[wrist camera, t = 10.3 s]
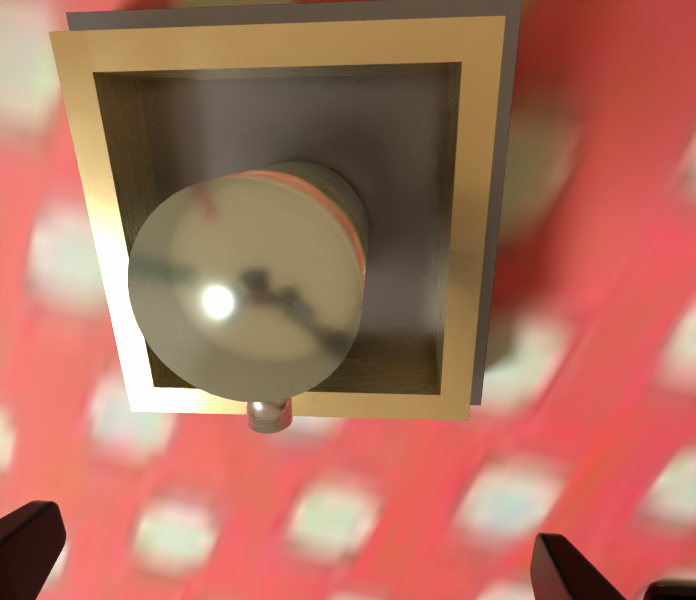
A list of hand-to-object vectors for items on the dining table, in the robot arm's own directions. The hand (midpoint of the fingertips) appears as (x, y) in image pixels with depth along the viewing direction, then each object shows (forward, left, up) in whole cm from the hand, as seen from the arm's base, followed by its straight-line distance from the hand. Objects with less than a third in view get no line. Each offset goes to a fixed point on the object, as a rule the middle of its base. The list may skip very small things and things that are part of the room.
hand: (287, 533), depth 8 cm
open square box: (+1, -4, -12) cm, 12 cm away
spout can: (+1, -4, -10) cm, 10 cm away
